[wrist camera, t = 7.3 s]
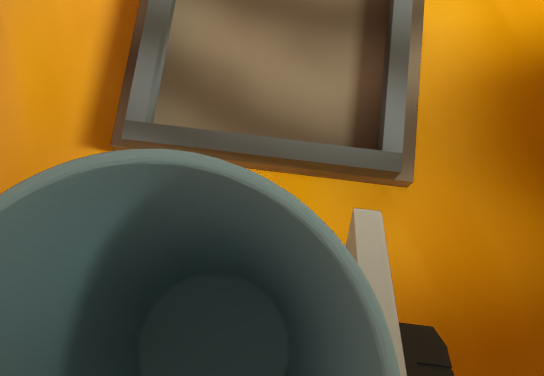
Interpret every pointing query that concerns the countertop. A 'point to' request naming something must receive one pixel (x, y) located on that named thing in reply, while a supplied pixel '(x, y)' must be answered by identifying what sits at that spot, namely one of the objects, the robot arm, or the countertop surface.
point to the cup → (178, 275)
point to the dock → (278, 85)
